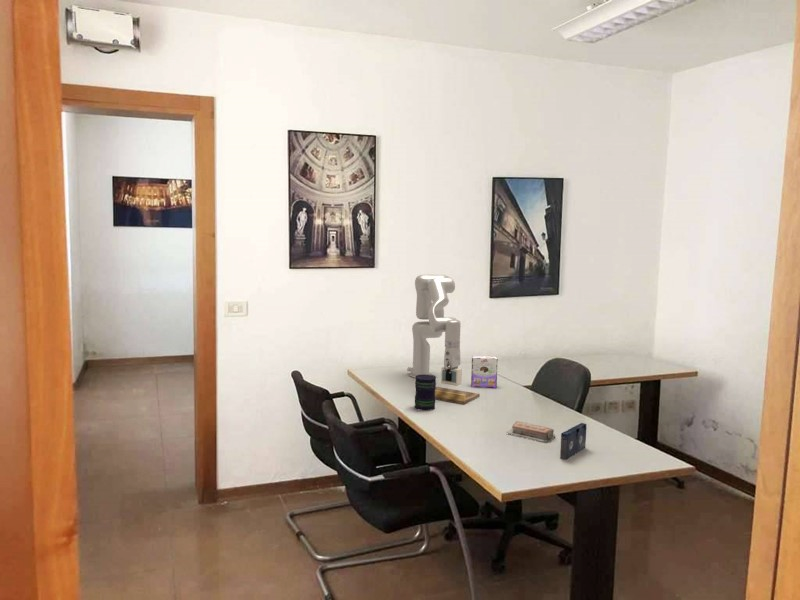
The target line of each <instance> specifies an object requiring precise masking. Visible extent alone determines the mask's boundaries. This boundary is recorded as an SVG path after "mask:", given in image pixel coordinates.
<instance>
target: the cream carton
mask: <svg viewBox="0 0 800 600" xmlns="http://www.w3.org/2000/svg"><path fill="white" fill-rule="evenodd" d="M448 369H449V370H450V368H448ZM462 370H463V369H462V368H461V367H458V368H455V367H454V368H452V370H451V373H452V381H446V380H445V377H446V373H445V369H444V366H443V367H441V372H440V375H441V376H440V384H443V385H447V386H454V387H458V386H461V385H462V380H463V378H462V375H463V371H462Z"/></svg>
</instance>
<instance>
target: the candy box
mask: <svg viewBox="0 0 800 600" xmlns="http://www.w3.org/2000/svg"><path fill="white" fill-rule="evenodd" d="M470 380H471V381H470V388H482V387H488V388H490V389H497V386H498V384H497V383H498V357H497V356H488V355H471V374H470Z"/></svg>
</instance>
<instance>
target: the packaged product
mask: <svg viewBox="0 0 800 600" xmlns="http://www.w3.org/2000/svg"><path fill="white" fill-rule="evenodd" d="M554 430H555V429H554V428H552V427H551V428H550V427H546V426H541V425H538V424H534V423H528V422H523V421H521V420H519V421H515V423H513V425H512V427H511V429H510V430H508V431H506V434H507V433H508V434H507V435H509V434H512V435H511V436H514V435H515V437H518V436H519V437H518V438H522V437H524V438H523V439H526V438H528V439H527V440H530V439H532V440H531V441H535V440H536V442H540V443H544V442H545V443H544V444H547V443H549V442H550V441H552V440H554V439H555V438H556V437H557V436H556V434H554ZM554 437H555V438H554ZM553 438H554V439H553ZM551 439H552V440H551ZM548 441H549V442H548Z"/></svg>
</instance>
